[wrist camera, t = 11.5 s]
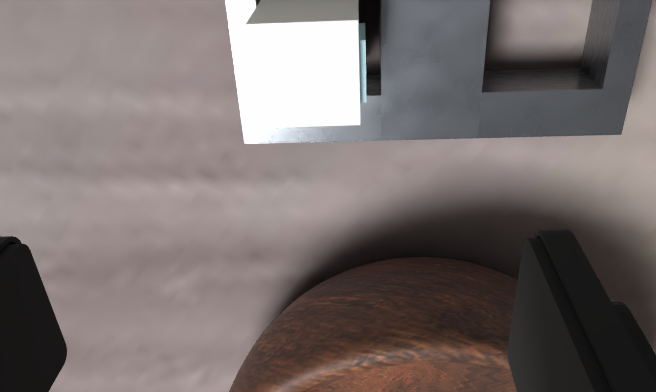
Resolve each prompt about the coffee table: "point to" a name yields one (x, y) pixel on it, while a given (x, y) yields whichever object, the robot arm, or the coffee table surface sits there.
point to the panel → (467, 78)
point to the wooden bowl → (390, 332)
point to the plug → (307, 62)
